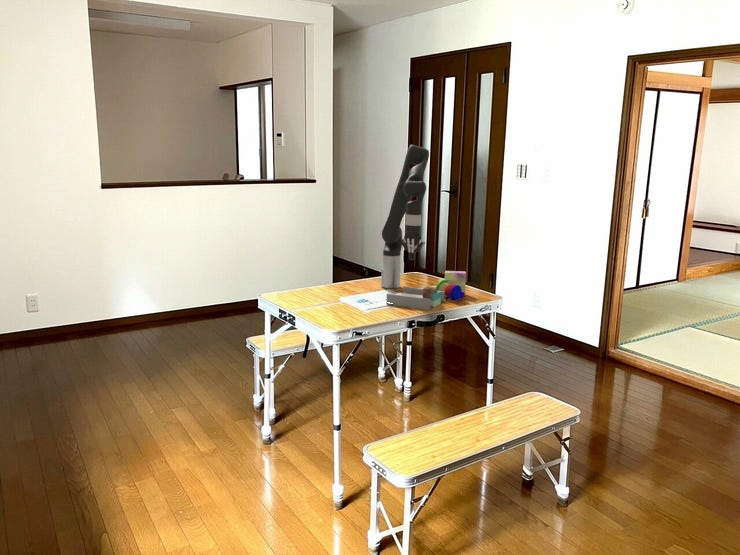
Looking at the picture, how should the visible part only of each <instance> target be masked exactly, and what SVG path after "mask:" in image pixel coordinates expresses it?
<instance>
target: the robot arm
mask: <svg viewBox="0 0 740 555" xmlns="http://www.w3.org/2000/svg"><path fill="white" fill-rule="evenodd" d="M429 157H430V151H429V149H427V148H426V147H425V148H424V147H422V146H418V145H415V144H410V145H409V147H408V148H407V152H406V154H405V157H404V161H403V165H402V170H401V174H400V177H399V180H398V184H397V186H396V188H395V192H394V195H393V198H392V202H391V204H390V210H389V214H388V216H387V219H386V221H385V224H384V226H383V228H382V231H381V237H382V240H383V241H384V247H383V250H382V268H381V279H380V280H381V281H380V282H381V283H380V286H381V288H385V289H398V288H401V253H402V248H403V249H404V251H406V252H408V259H409V260H408V261H414V260H416V253H417V252H420V251H421V250H422V248H423V246H425V244H426V242H425V241H423V240H422V236H421V234H422V205H423V200H424V197H425V195H426V191H427V184H426V183H425V181H424V176H425V171H426V168H427V166H428V161H429V159H430V158H429ZM411 165H414V166H413V167H411V168H410V166H411ZM413 197H417V199H416V200H412V199H413ZM404 216H405V219H404V220H405V221H404V222H405V223H404V236H403V231H402V228H401V224H402V220H403V218H404Z"/></svg>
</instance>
